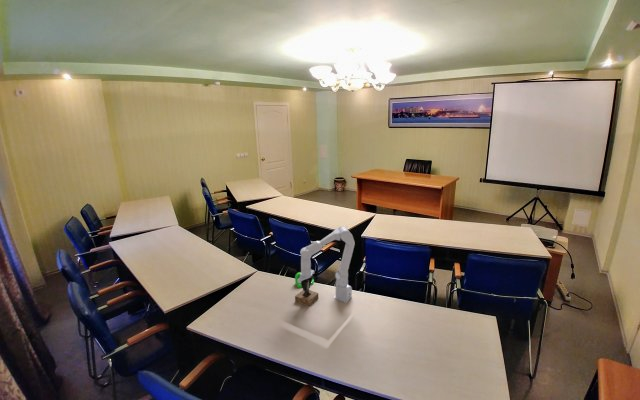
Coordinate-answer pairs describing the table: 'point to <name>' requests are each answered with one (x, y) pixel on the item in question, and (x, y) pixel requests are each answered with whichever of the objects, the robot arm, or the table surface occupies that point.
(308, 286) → the metal peg
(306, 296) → the square wooden ring
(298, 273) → the mechanical part
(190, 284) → the table surface
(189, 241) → the table surface
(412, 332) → the table surface
